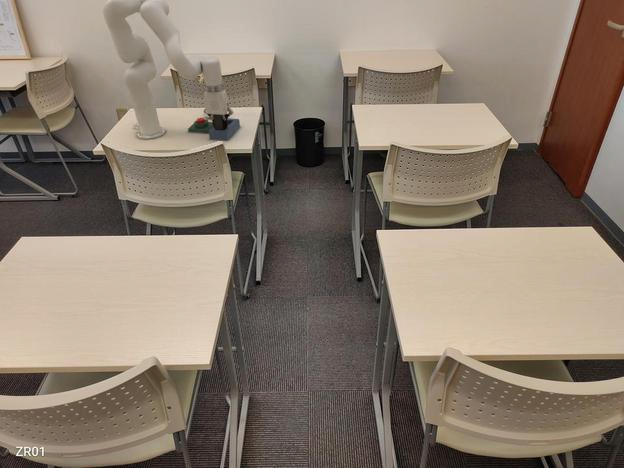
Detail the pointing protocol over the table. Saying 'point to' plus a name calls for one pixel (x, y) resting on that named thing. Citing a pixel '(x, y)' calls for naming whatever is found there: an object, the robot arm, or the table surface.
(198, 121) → the power button
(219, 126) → the charger
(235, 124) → the blue tray
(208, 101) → the robot arm
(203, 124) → the switch box
